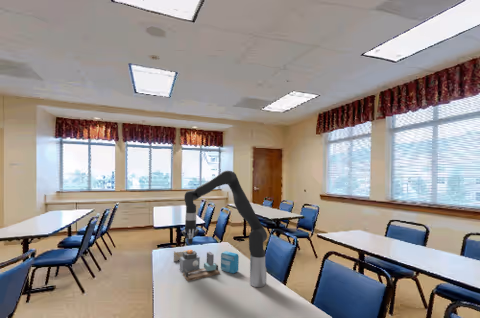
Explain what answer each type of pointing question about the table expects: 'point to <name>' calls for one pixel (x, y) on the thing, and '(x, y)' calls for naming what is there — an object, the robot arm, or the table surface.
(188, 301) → the table surface
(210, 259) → the carriage
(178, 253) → the model
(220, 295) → the table surface
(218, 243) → the table surface
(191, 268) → the grey dispenser housing
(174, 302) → the table surface
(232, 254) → the data package
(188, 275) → the rail base
